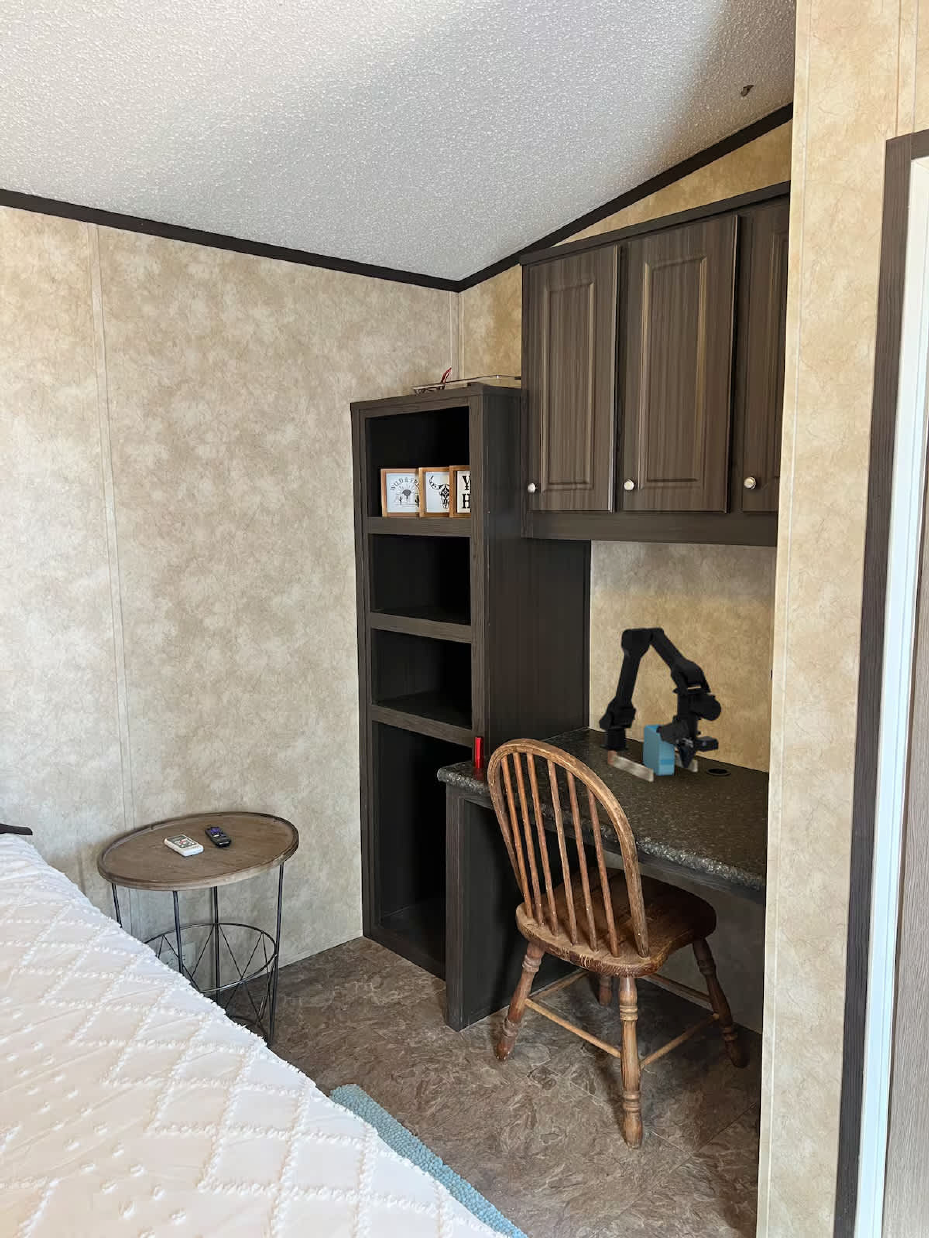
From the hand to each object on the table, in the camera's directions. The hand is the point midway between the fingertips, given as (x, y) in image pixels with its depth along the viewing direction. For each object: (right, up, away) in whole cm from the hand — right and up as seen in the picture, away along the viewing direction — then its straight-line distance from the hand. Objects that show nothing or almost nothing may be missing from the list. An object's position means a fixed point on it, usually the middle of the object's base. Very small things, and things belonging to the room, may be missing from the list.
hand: (685, 767), depth 252 cm
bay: (-6, -2, +12) cm, 13 cm away
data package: (-5, -2, +10) cm, 12 cm away
